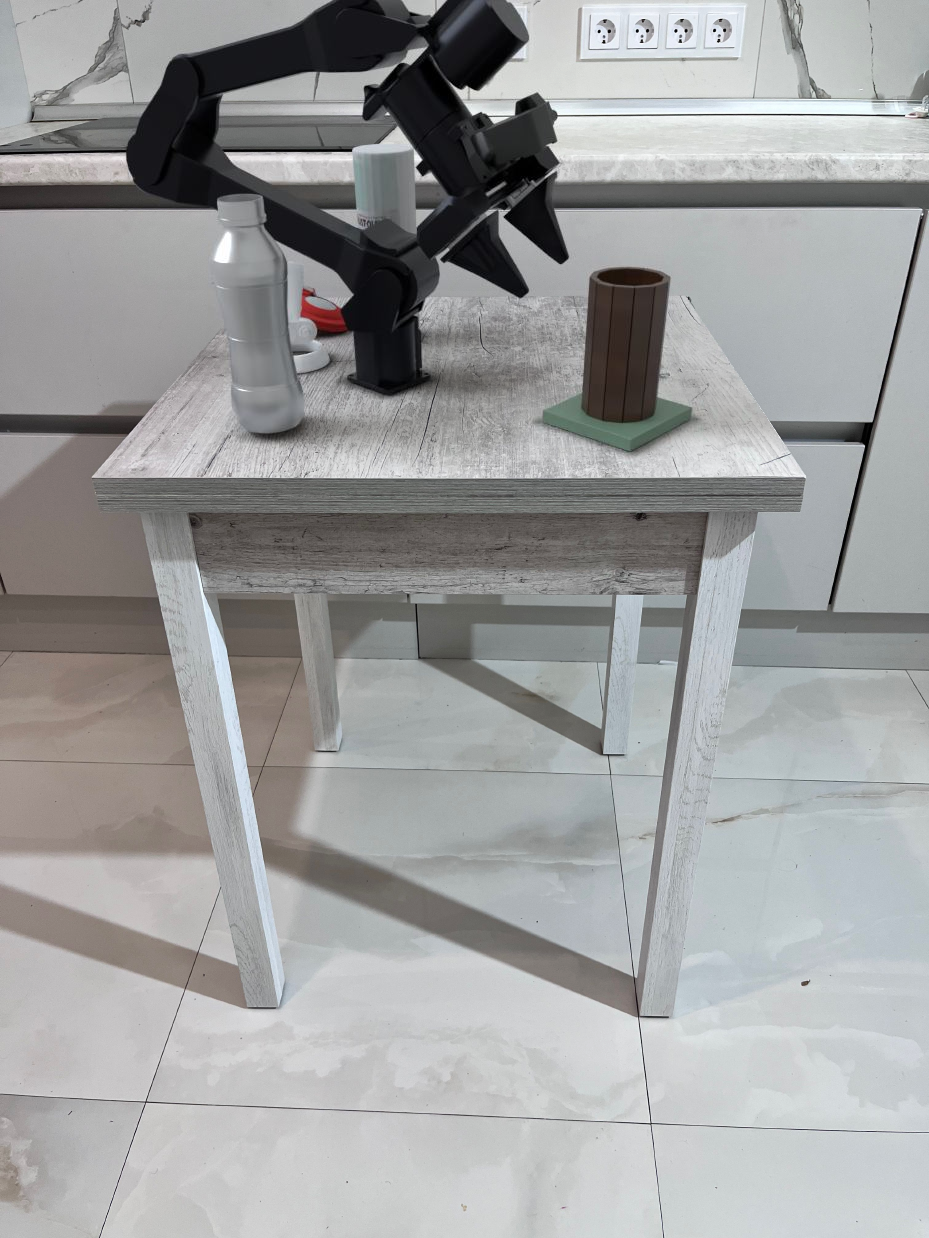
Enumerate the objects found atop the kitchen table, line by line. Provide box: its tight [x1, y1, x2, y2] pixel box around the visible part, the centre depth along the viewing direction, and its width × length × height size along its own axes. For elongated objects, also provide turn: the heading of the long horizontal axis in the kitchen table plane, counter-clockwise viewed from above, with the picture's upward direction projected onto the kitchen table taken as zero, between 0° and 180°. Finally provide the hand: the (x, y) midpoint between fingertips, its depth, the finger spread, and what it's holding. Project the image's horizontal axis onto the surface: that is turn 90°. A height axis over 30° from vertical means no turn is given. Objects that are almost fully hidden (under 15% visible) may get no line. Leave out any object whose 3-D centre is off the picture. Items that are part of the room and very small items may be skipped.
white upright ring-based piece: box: [286, 260, 331, 374], centre depth 102 cm, size 8×12×7 cm
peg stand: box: [542, 392, 693, 452], centre depth 87 cm, size 10×10×5 cm
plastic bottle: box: [208, 194, 306, 434], centre depth 82 cm, size 6×7×20 cm
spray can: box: [351, 143, 420, 323], centre depth 104 cm, size 6×6×20 cm
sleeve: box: [581, 266, 672, 423], centre depth 84 cm, size 7×7×12 cm
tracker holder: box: [300, 284, 348, 333], centre depth 113 cm, size 12×4×10 cm
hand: (546, 277), depth 86 cm, fingers open, 9 cm apart
